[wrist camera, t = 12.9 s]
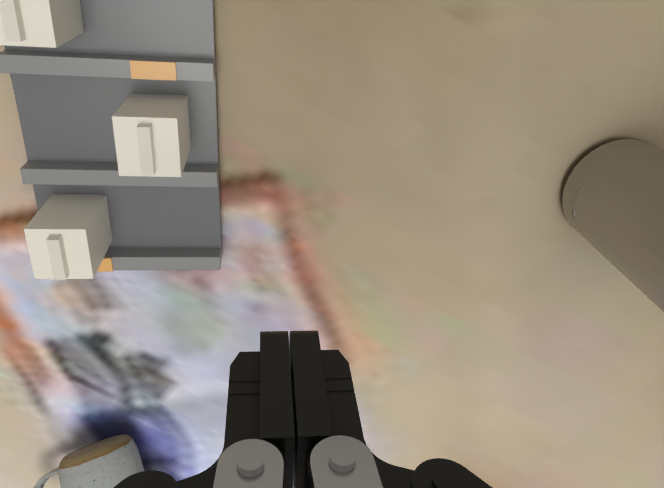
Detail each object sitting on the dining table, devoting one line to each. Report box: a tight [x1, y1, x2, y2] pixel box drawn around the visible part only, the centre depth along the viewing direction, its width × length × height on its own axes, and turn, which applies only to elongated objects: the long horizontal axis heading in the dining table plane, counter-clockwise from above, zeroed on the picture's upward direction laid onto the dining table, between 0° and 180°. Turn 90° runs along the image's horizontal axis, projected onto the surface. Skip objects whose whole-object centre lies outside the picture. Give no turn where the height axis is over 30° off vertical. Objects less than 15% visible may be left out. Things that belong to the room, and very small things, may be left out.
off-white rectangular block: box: [112, 93, 191, 177], centre depth 39 cm, size 4×4×7 cm
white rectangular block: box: [24, 194, 113, 280], centre depth 42 cm, size 4×4×7 cm
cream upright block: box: [0, 0, 84, 48], centre depth 34 cm, size 4×4×7 cm
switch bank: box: [0, 0, 222, 271], centre depth 41 cm, size 14×24×3 cm, turn 176°
